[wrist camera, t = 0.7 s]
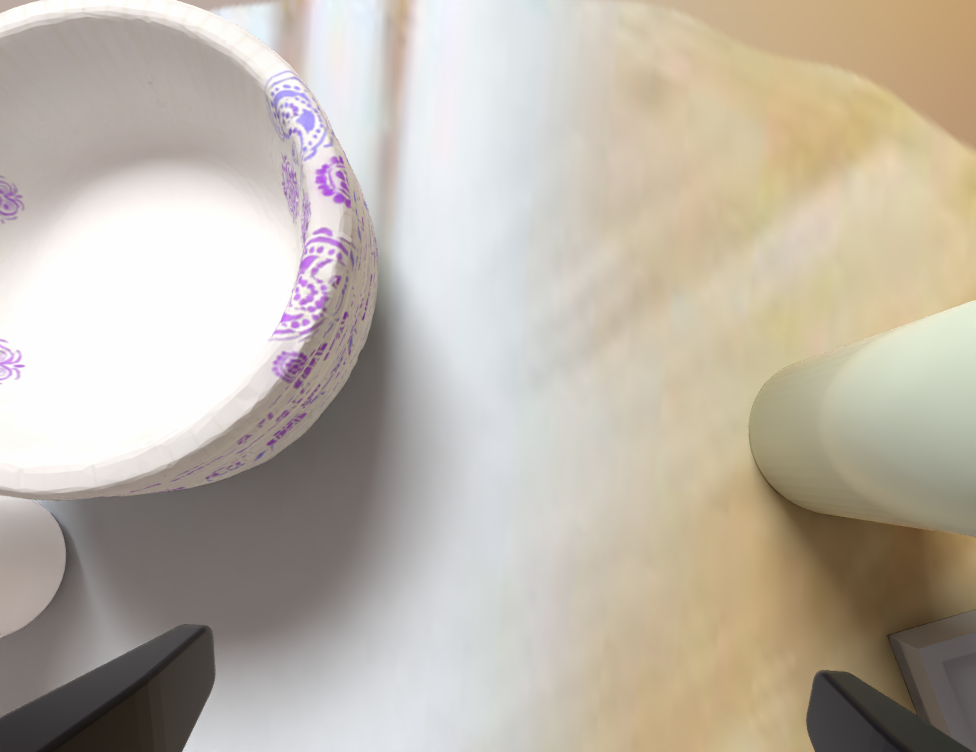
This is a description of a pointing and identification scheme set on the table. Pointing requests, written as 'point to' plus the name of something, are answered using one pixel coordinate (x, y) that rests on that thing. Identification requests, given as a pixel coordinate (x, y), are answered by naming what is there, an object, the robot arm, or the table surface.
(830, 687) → the robot arm
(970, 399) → the domed cap cylinder
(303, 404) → the paper bowls
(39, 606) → the white vase
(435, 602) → the table surface
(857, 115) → the table surface
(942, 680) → the tray
